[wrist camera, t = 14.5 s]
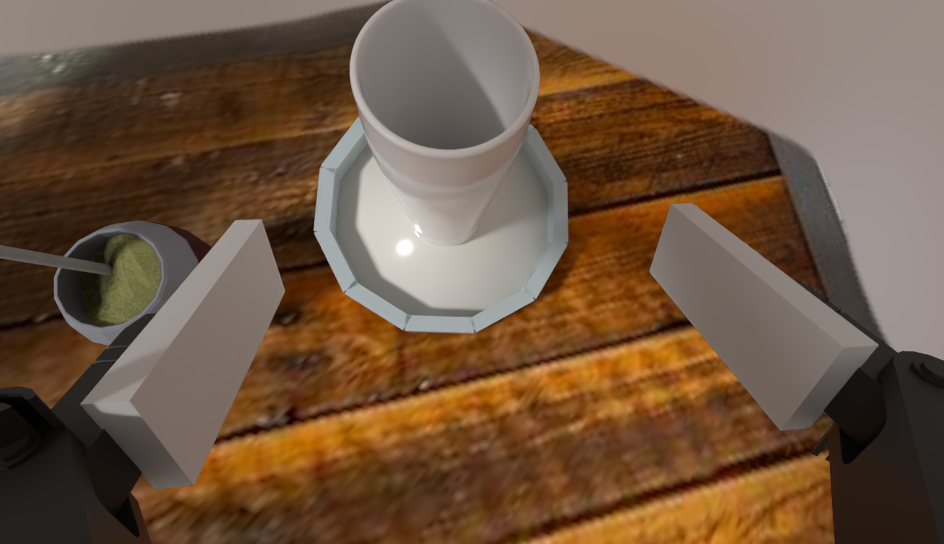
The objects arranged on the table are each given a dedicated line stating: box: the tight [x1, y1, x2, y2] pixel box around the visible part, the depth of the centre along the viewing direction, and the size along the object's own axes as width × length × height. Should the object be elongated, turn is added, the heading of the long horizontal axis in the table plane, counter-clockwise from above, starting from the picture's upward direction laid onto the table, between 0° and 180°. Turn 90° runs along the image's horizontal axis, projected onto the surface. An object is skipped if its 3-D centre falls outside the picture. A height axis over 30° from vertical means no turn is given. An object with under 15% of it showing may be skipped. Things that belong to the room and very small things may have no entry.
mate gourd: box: [0, 220, 212, 345], centre depth 20 cm, size 8×8×15 cm
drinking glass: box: [350, 0, 540, 247], centre depth 21 cm, size 7×7×15 cm
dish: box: [314, 117, 568, 334], centre depth 28 cm, size 17×17×2 cm
